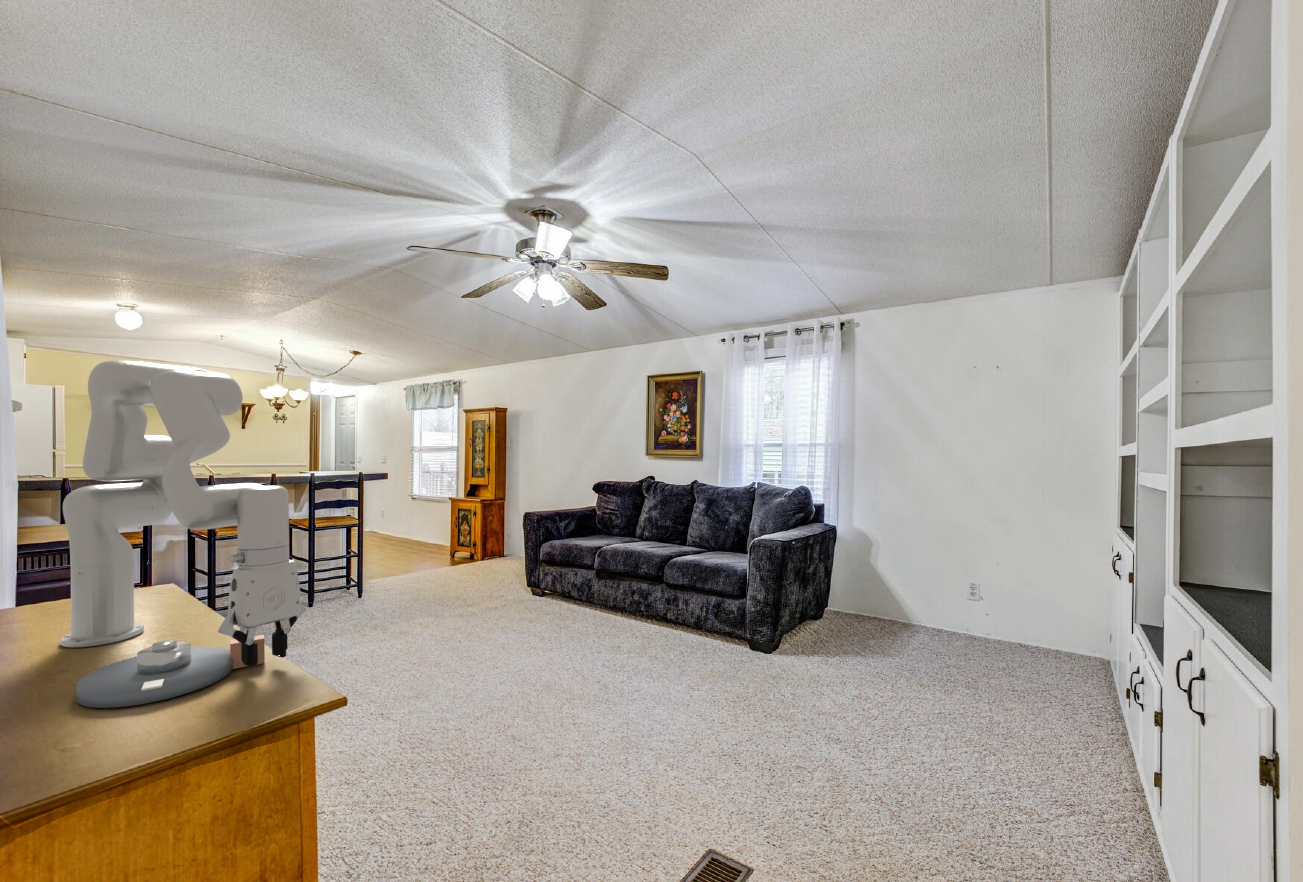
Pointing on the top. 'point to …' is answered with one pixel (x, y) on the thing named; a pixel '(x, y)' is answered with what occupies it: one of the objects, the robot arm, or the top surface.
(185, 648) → the cover
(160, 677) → the turntable
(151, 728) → the top surface
